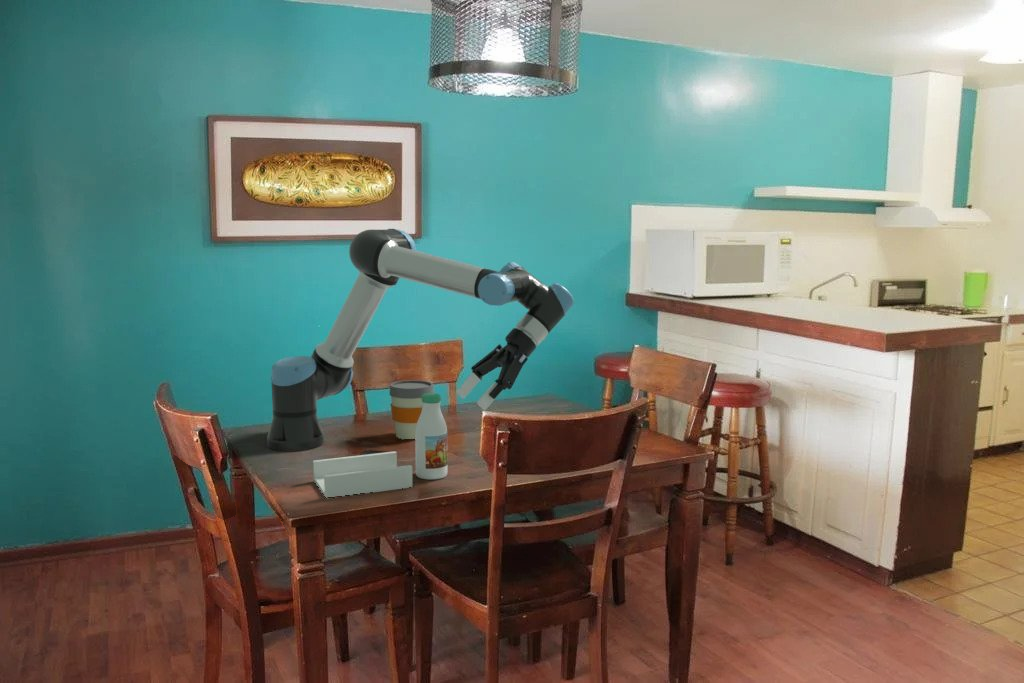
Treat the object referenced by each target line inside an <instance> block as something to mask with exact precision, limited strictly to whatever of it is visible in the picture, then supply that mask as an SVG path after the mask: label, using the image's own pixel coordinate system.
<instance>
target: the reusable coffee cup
mask: <svg viewBox="0 0 1024 683" xmlns="http://www.w3.org/2000/svg"><path fill="white" fill-rule="evenodd" d="M427 393H435V390H434V383H433V382H430V381H426V380H418V379H415V380H413V379H412V380H409V379H408V380H398V381H393V382H392V383H390V385H389V396H390V400H391V403H390V411H391V415H392V416H391V417H392V420H393V422H394V428H395V436H396V438H397V437H398V439H400V438H401V440H404V439H415V434H416V425H417V421H418V419H419V417H420V415H421V412H422V408H423V405H422V395H423V394H427Z"/></svg>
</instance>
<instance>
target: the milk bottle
mask: <svg viewBox="0 0 1024 683" xmlns="http://www.w3.org/2000/svg"><path fill="white" fill-rule="evenodd" d="M441 397H442V395H441V394H440V393H435V392H434V393H427V394H423V395H422V405H423V408H422V412H421V415H420V417H419V419H418V421H417V425H416V434H415V440H414V443H415V445H414V447H415V449H414V450H415V452H414V453H415V454H414V455H415V476H416V477H417V478H419V479H423V480H430V481H431V480H439V479H444V478H445V477H446V476H448V460H449V459H448V427H447V422H446V420H445V418H444V416H443V413H442V410H441V404H442V403H441V401H442V398H441Z"/></svg>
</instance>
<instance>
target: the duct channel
mask: <svg viewBox="0 0 1024 683" xmlns="http://www.w3.org/2000/svg"><path fill="white" fill-rule="evenodd" d="M358 455H359V454H358ZM358 455H350V456H343V457H334V458H333V457H332V458H326V459H325V458H324V459H316V460H312V468H313V469H312V470H313V475H312V476H313V483H316V484H315V486H318V487H319V488H318V487H317V488H318V489H319V491H320V490H321V491H320V493H321V494H322V493H323V494H324V495H323V494H322V495H323V497H324V496H325V497H326V498H327V497H335V496H342V497H346V496H345V495H350V496H354V495H353V494H358V495H361V494H360V493H365V494H371V493H370V492H373V493H379V492H386V491H387V492H388V491H395V490H402V488H403V489H409V487H411V488H413V465H411V464H408V465H400V466H398V461H397V460H398V458H397V457H398V453H397V451H387V452H385V453H376V454H368V455H359V456H358ZM325 497H324V498H325ZM326 498H325V499H326ZM335 498H336V497H335ZM327 499H328V498H327Z"/></svg>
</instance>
